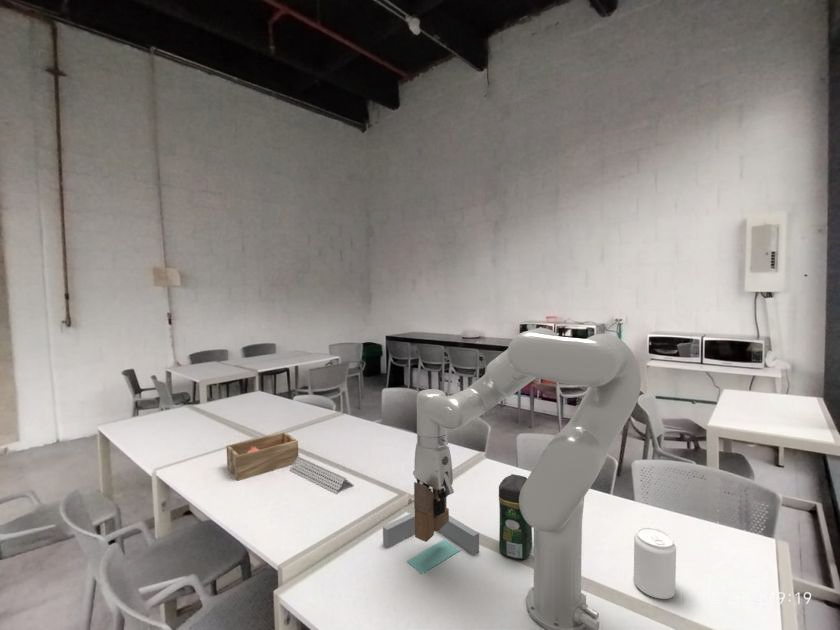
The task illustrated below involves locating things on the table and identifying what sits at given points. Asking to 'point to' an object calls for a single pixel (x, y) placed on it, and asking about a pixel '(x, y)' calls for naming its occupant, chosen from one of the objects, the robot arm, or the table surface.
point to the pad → (432, 556)
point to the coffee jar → (513, 519)
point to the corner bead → (321, 471)
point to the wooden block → (427, 513)
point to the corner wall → (451, 530)
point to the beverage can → (654, 562)
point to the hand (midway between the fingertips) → (432, 508)
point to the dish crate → (261, 455)
